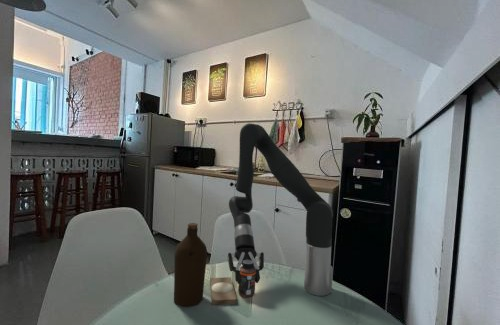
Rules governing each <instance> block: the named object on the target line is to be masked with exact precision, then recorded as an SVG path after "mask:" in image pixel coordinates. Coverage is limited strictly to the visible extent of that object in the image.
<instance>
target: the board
mask: <svg viewBox="0 0 500 325" xmlns="http://www.w3.org/2000/svg"><path fill="white" fill-rule="evenodd" d="M209 286H210V300H211V306H220V305H221V306H222V305H225V306H226V305H236V304H237V300H238V298H237V294H236V291H235V288H234V284H233V281H232V277H229V276H228V277H225V276H224V277H210V278H209Z"/></svg>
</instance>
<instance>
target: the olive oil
mask: <svg viewBox="0 0 500 325" xmlns="http://www.w3.org/2000/svg"><path fill="white" fill-rule="evenodd" d="M175 247H176V248H175V250H174V259H173V260H174V263H173V264H174V265H173V266H174V272H173V273H174V274H173V276H174V278H173V280H174V281H173V282H174V284H173V303H174V304H175V305H177V306H178V307H182V308H190V307H195V306H198V305H199V304H201V303H202V301H203V300H204V288H205V278H206V277H205V276H206V269H207V268H206V266H207V261H208V260H207V259H208V250H207V246H206V244H205V243H204V241H203V240H202V239H201V238H200V236H199V235H198V223H197V222H195V223H194V222H189V223H188V224H187V229H186V235H185V237H184V238H183V239H182V240H181V241H180V242H179V243H178V244H177V246H175Z"/></svg>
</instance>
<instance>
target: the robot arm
mask: <svg viewBox="0 0 500 325" xmlns="http://www.w3.org/2000/svg"><path fill="white" fill-rule="evenodd" d="M255 148H256V149H257V150H258V152H260V153H261V155H262V156H263V157H264V160H265V161H266V164H267V167H268V168H269V171H270V172H271V175H273V177H274V178H275V179H276V180H277V182H278V183H279V184H280V185H281V186H282V187H283V188H284V189H285V190H286V191H288V192H289V193H290V194H291V195H293V196H294V197H295V198H296V199H297V200H298V201H299V202H300V203H301V205H302V206H303V208H304V209H305V210H306V215H305V216H306V217H305V238H306V241H305V262H304V279H303V281H304V282H303V285H304V287H303V289H304V290H305V292H307V293H309V295H313V296H320V297H321V296H322V297H323V296H327V295H329V294H332V292H333V275H334V274H333V272H334V271H333V270H334V267H333V266H332V265H331V264H332V263H331V262H332V240H333V238H332V237H333V236H332V235H333V234H332V233H333V230H332V229H333V216H334V210H333V208H332V206H331V205H330V204H329V203H328V202H327V201H326V200H325V199H324V198H322V197H321V195H320V194H318V193H317V192H316V191H315V190H314V188H313V187H312V186H311V185H310V183H309V182H308V181H307V179H306V178H305V176H304V175H303V174H302V172H301V171H300V170H299V169H298V168H297V167H296V165H295V164H294V163H293V162H292V161H291V160H290V158H288V157H287V156H286V154H285V153H284V151H282V150H281V149H280V148H279V147H278V146H277V145H276V143H275V142H274V141H273V139H272V138H271V136H270V135H269V134H268V132H267V131H266V129H265V128H264V127H263V126H262V125H260V124H257V123H256V124H255V123H249V122H248V123H245V124H244V125H242V127H241V129H240V131H239V158H238V160H239V161H238V170H237V171H238V172H237V176H236V183H235V189H236V190H235V191H237V192H238V193H242V194H244V196H238V195H234V196H231V198H230V199H229V201H228V208H229V210H230V213H231V214H230V215H231V216H232V219H233V226H234V232H233V233H234V235H233V236H234V237H233V238H234V248H235V252H233V253H231V252H229V253H227V262H228V263H227V264H228V267H229V271H230V272H234V276H235V277H234V278H235V282H236V283H237V284H238V285H239V284H240V271H239V270H240V267H241V265H242V264H243V261H244V260H252V261H253V262H254V267H255V269H256V279H255V284H258V283H259V282H260V279H261V274H260V273H261V271H263V269H264V267H265V254H264V252H263V251H261V252H257V251H256V248H255V240H254V232H253V228H252V221H251V216H250V214H249V213H251V211H252V210H253V207H254V206H253V193H252V189H253V182H254V177H255V174H254V173H255V171H254V162H253V160H254V159H253V156H254V151H255ZM256 257H257V259H258V260H259V262H258V263H257V260H256ZM234 258H235V259H236V261H237V264H236V266H235V265H234V261H233V260H234Z"/></svg>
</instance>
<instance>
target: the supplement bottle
mask: <svg viewBox="0 0 500 325" xmlns="http://www.w3.org/2000/svg"><path fill="white" fill-rule="evenodd" d="M241 265H242V266H240V268H239V271H240V284H238V289H237V290H238V293H237V294H238V295H240V297H243V298H251V297H253V296H254V295H255V292H256V281H255V279H256V269H255V267H254V262H253V261H252V260H244V261H243V264H241Z"/></svg>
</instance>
